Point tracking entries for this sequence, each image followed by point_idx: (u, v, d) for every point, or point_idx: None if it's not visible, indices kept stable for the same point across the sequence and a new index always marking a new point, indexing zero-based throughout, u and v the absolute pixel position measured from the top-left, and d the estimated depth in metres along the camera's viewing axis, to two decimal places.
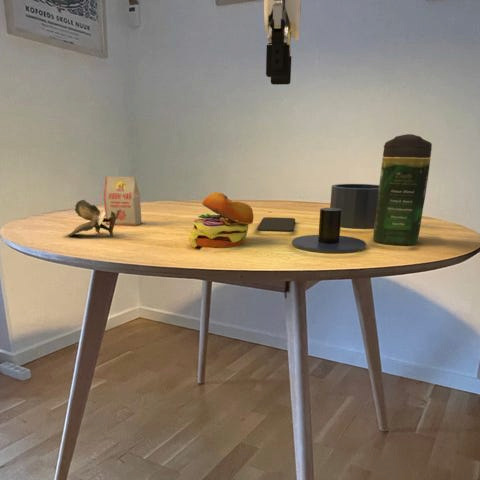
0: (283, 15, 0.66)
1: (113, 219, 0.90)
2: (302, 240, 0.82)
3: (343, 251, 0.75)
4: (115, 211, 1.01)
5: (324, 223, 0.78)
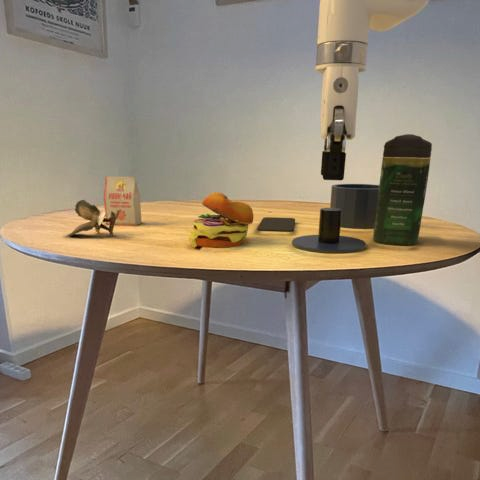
0: None
1: (113, 219, 0.90)
2: (302, 240, 0.82)
3: (343, 251, 0.75)
4: (115, 211, 1.01)
5: (324, 223, 0.78)
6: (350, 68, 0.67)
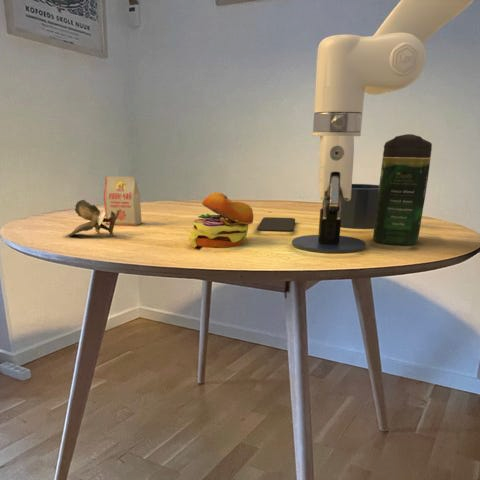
0: None
1: (113, 219, 0.90)
2: (302, 240, 0.82)
3: (343, 251, 0.75)
4: (115, 211, 1.01)
5: None
6: (346, 137, 0.70)
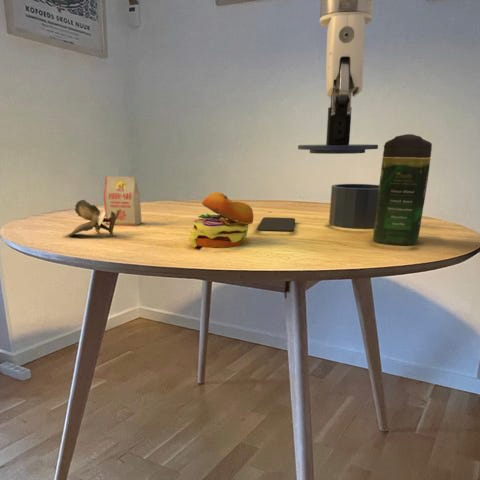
0: None
1: (113, 219, 0.90)
2: None
3: (354, 147, 0.70)
4: (115, 211, 1.01)
5: None
6: (356, 16, 0.65)
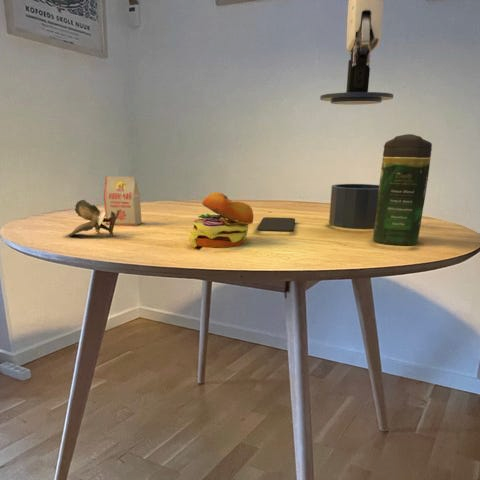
0: None
1: (113, 219, 0.90)
2: None
3: (373, 94, 0.77)
4: (115, 211, 1.01)
5: None
6: None
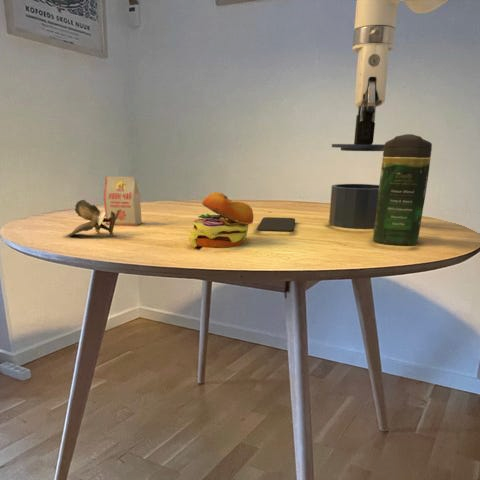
0: None
1: (113, 219, 0.90)
2: None
3: (377, 146, 0.90)
4: (115, 211, 1.01)
5: None
6: (382, 47, 0.85)
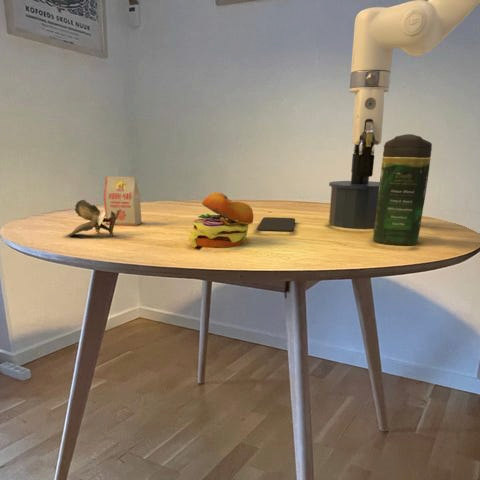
0: None
1: (113, 219, 0.90)
2: (337, 182, 0.99)
3: (373, 187, 0.93)
4: (115, 211, 1.01)
5: None
6: (378, 90, 0.88)
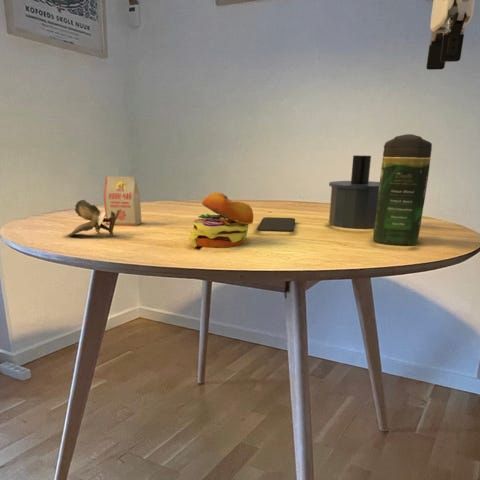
0: None
1: (113, 219, 0.90)
2: (337, 182, 0.99)
3: (373, 187, 0.93)
4: (115, 211, 1.01)
5: (357, 166, 0.96)
6: None
